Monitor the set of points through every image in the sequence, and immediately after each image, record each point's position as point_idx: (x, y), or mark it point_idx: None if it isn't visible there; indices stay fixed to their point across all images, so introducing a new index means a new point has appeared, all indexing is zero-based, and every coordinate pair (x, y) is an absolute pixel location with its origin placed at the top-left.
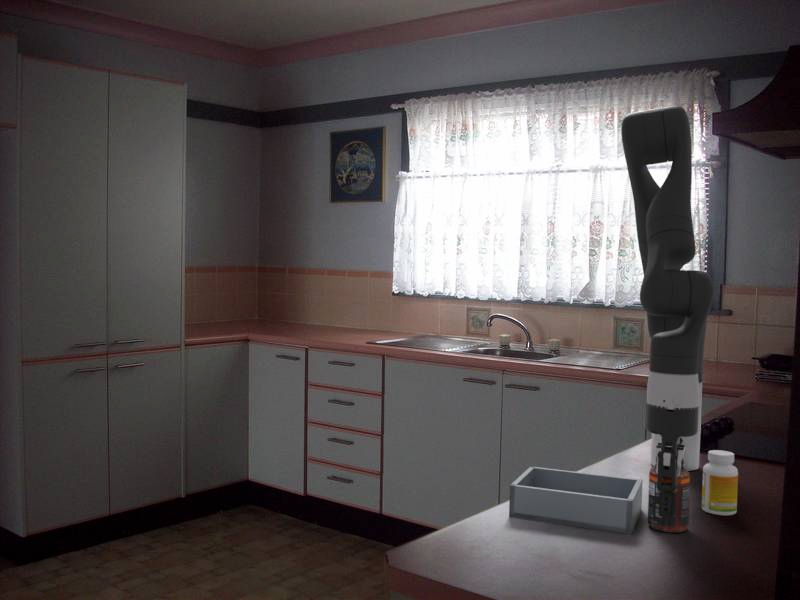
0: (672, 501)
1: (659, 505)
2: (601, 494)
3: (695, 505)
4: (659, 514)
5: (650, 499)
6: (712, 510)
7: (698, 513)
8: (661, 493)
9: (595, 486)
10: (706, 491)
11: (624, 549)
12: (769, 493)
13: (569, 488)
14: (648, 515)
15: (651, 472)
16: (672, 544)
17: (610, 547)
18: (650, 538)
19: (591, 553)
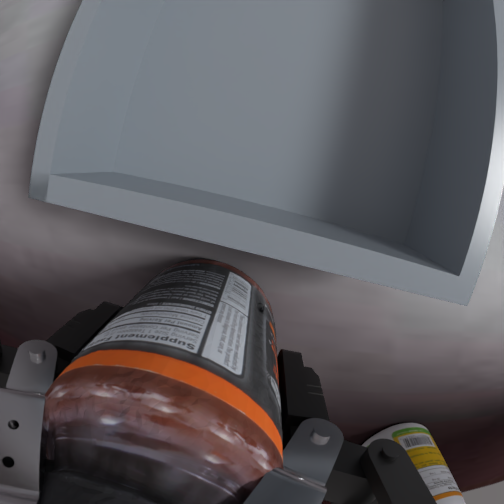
0: None
1: (86, 318)
2: (448, 112)
3: (439, 407)
4: (103, 303)
5: (146, 297)
6: (367, 446)
7: (375, 414)
8: (57, 350)
9: (466, 83)
10: None
11: (4, 166)
12: (471, 486)
13: (457, 10)
14: (192, 268)
15: (77, 382)
16: (64, 297)
17: (9, 131)
18: (87, 244)
19: None
